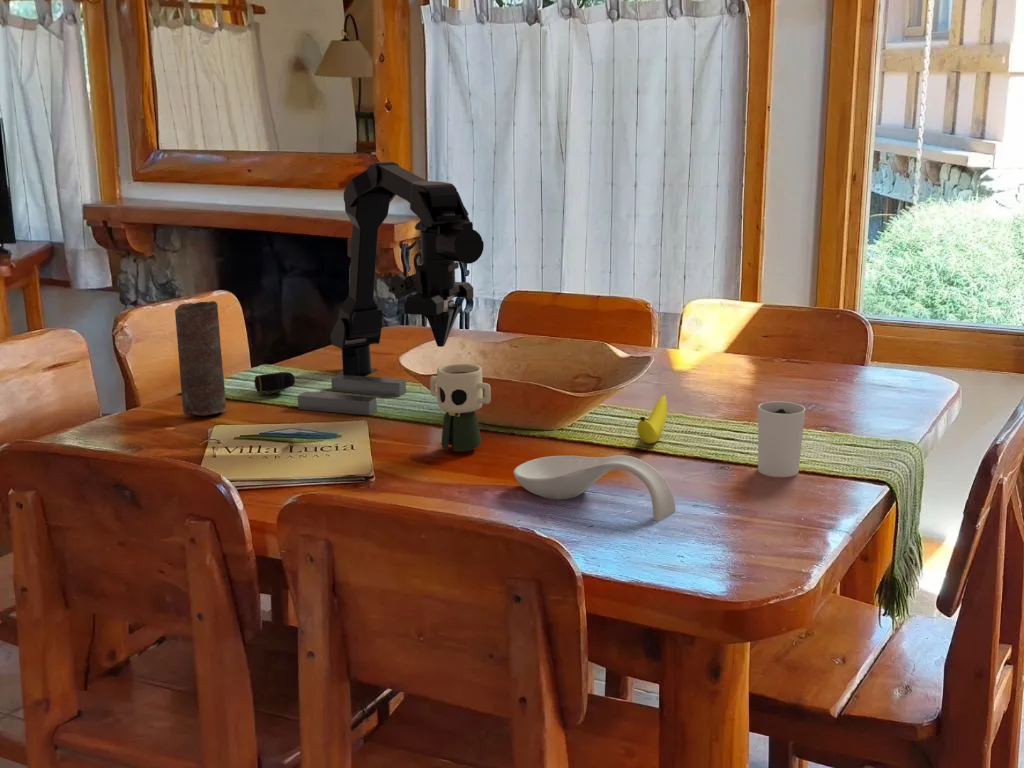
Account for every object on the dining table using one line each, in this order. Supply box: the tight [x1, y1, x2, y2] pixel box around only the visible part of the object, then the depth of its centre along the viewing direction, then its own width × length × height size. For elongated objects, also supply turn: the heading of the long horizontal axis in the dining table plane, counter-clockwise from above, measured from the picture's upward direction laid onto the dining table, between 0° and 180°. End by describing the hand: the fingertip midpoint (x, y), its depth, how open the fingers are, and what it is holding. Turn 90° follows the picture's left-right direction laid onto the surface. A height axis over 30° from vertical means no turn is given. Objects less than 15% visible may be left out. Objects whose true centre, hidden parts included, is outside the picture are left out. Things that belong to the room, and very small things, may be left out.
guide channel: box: [297, 375, 407, 416], centre depth 199 cm, size 16×14×2 cm
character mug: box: [429, 363, 492, 452], centre depth 169 cm, size 11×7×13 cm, turn 60°
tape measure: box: [253, 371, 296, 395], centre depth 203 cm, size 7×7×4 cm
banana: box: [636, 394, 668, 445], centre depth 174 cm, size 3×19×6 cm, turn 162°
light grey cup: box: [757, 400, 806, 478], centre depth 157 cm, size 7×7×10 cm
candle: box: [174, 300, 227, 417], centre depth 188 cm, size 8×7×20 cm
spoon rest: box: [513, 454, 676, 522], centre depth 148 cm, size 24×12×7 cm, turn 54°
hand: (440, 346), depth 191 cm, fingers closed
